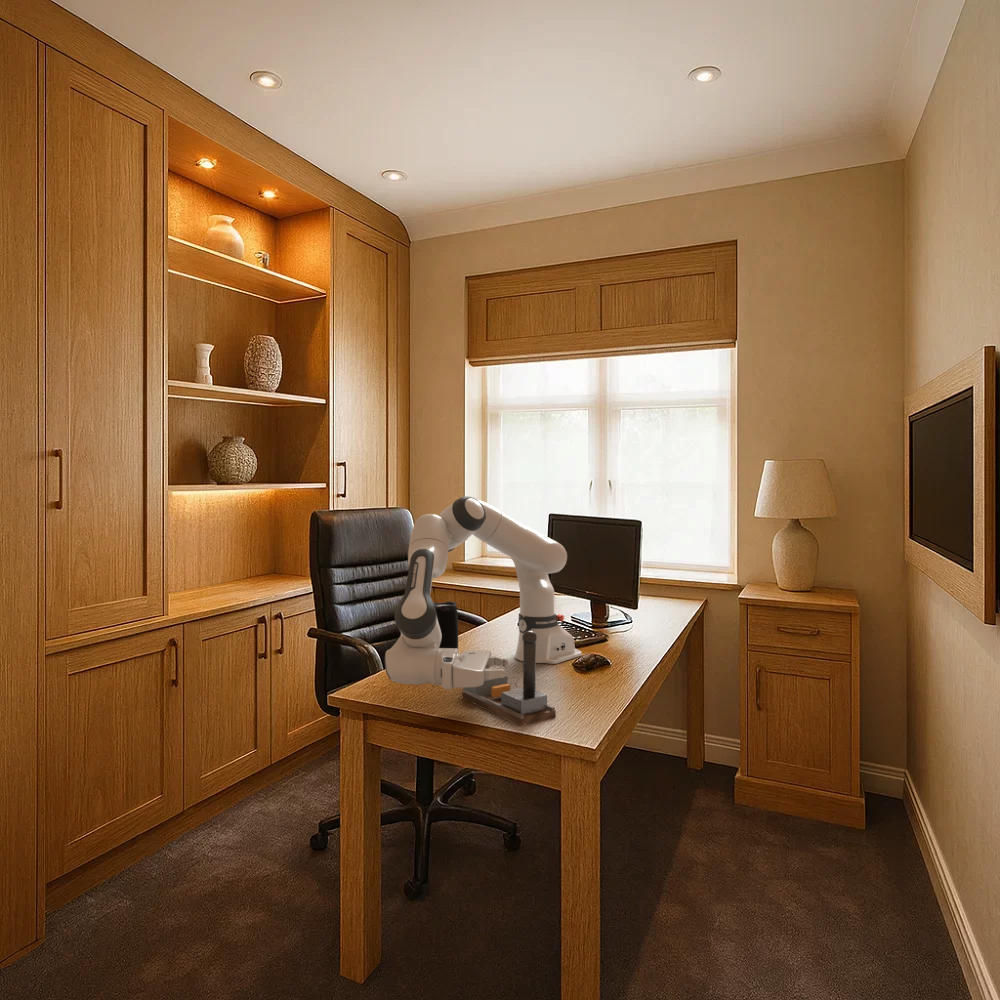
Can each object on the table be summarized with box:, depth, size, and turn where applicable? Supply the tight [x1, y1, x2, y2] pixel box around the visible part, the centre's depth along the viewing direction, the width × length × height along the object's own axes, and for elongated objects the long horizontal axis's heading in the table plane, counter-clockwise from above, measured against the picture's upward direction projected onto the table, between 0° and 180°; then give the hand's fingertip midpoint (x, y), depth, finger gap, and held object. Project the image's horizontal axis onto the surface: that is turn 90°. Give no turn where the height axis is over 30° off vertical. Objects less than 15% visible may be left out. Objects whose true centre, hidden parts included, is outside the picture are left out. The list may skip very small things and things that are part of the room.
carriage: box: [501, 631, 548, 715], centre depth 170 cm, size 8×8×20 cm
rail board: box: [461, 688, 557, 727], centre depth 176 cm, size 11×25×2 cm, turn 36°
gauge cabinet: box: [463, 674, 509, 696], centre depth 184 cm, size 10×6×5 cm, turn 126°
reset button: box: [491, 683, 512, 698], centre depth 178 cm, size 5×2×2 cm, turn 126°
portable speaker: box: [433, 601, 459, 650], centre depth 212 cm, size 9×9×20 cm
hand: (506, 667), depth 169 cm, fingers open, 8 cm apart
